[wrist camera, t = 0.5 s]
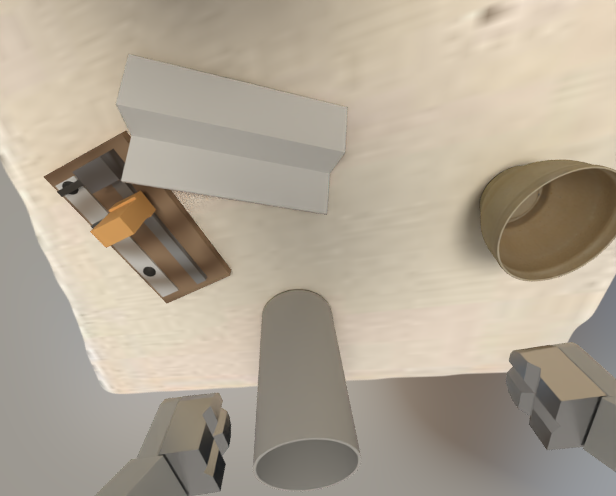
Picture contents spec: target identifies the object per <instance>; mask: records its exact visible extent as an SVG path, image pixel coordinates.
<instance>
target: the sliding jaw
mask: <svg viewBox="0 0 616 496" xmlns="http://www.w3.org/2000/svg"><path fill="white" fill-rule="evenodd" d="M155 210H156V209H155V208H154V206H153V205H152V204H151V203H150V202H149V200H148V199H147V198H146V197H145V195H144V194H143V193H142V192H141V191H139V192H137V193H135V194H133V195H131V196H129V197H127V198H125V199H123V200H121V201H119V202H117V203H116V204H114V205H113V206H112V207H111V208H110V209H109V212H110V213H109V214H108V215H107V216H106V217H105V218H104V219H102V220H100V221H98V222H96V223H94V224H93V225H92V226H91V227H92V228H93V229H92V230H91V231H90V232H91V233H92V234H93V235H94V236H95V237H96V238H97V239H98V240H99V241H100V242H101V243H102V244H103V245H104V246H105V247H106V248H107V247H109V246H111V245H113V244H115V243H117V242H119V241H121V240H123V239H125V238H127V237H129V236H131V235H133V234H135V233H136V231H137V230H138V229H139V227H140V226H141V225H142V223H143V222H144V221H145V220H146V219H147V218H149V217H151V216H152V214H153V213H154V212H155Z"/></svg>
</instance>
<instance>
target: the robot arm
mask: <svg viewBox="0 0 616 496" xmlns="http://www.w3.org/2000/svg"><path fill="white" fill-rule="evenodd" d="M509 362H510V363H511V364H512V366H513V367H512V368H511V369H510V370H509V371H508V372H507V377H506V384H507V388H508V392H509V394H510V396H511V398H512V400H513V402H514V403H515V405H516V406H517V408H518V409H519V410H521V411H523V412H524V413H526V414H527V415H529V416H530V421H529V425H530V427H531V428H532V429H533V431H534V432H535V434H536V435H537V436H538V438H539V439H540V441H541V442H542V444H543V445H544V447H545V448H546V449H547V450H555V449H565V448H575V447H583V449H584V450H585V451H587V452H589V453H590V454H591V455H592V456H594V457H595V458H597V459H598V460H599V461H601V462H602V463H604V464H605V465H606V466H608V467H609V468H611V469H612V470H613V471H615V472H616V379H615V378H614V377H613V376H612V375H611V374H610V373H609V372H608V371H606V370H605V369H604V368H603V367H602V366H601V365H600V364H598V362H597V361H595V360H594V359H593V358H592V357H591V356H590V355H589V354H588V353H587V352H585V351H584V350H583V349H582V348H581V347H580V346H579V345H577V344H575V343H573V342H569V343H562V344H555V345H546V346H540V347H533V348H527V349H520V350H514V351H513V352H512V353H511V354H510V358H509ZM222 402H223V400H222V398H221V396H220V394H219V393H211V394H201V395H192V396H183V397H177V398H168V399H165V400H164V401H163V402H162V403H161V404H160V406H159V408H158V411H157V413H156V415H155V418H154V420H153V422H152V424H151V427H150V429H149V431H148V434H147V436H146V438H145V440H144V443H143V445H142V447H141V450H140V452H139V454H138V456H137V459H131V460H130V461H129V462H128V463H127V464H126V465H125V466H124V467H123V468H122V469H121V470H120V471H119V472H118V473H117V474H116V475H115V476H114V477H113V478H112V479H111V480H110V481H109V482H108V483H107V484H106V485H105V486H104V487H103V488H102V489H101V490H100V491H99V492H98V493H97V494H96V495H95V496H194V495H200V494H207V493H213V492H219V491H221V485H222V480H223V475H224V470H225V465H226V464H225V461H224V459H223V457H222V455H223V454H224V453H225V452H226V450H227V449H228V448H229V444H230V438H231V422H230V417H229V414H228V412H227V411H226V410H224V409H223V408H221V407H222Z"/></svg>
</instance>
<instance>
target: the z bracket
mask: <svg viewBox="0 0 616 496" xmlns="http://www.w3.org/2000/svg"><path fill="white" fill-rule="evenodd" d="M116 105H117V107H118V109H119V111H120V113H121V115H122V117H123V119H124V121H125V123H126V125H127V127H128V129H129V131H130V133H131V135H132V136H131V140H130V144H129V149H128V153H127V157H126V162H125V166H124V170H123V175H122V179H121V181H122V182H126V183H132V184H138V185H144V186H151V187H157V188H163V189H169V190H176V191H182V192H188V193H194V194H201V195H207V196H213V197H219V198H226V199H232V200H238V201H244V202H251V203H257V204H263V205H269V206H276V207H282V208H288V209H294V210H301V211H307V212H313V213H319V214H326V215H327V211H328V195H329V179H330V173H331V171H332V170H333V168H334V167H335V166H336V164H337V163H338V162H339V160H340V159H341V157H342V156H343V155H344V153H345V148H346V128H347V108H348V107H344V106H340V105H336V104H332V103H328V102H324V101H320V100H316V99H312V98H307V97H303V96H299V95H295V94H291V93H287V92H283V91H279V90H275V89H271V88H266V87H262V86H258V85H254V84H250V83H246V82H242V81H238V80H234V79H230V78H225V77H221V76H217V75H213V74H209V73H205V72H201V71H197V70H193V69H189V68H184V67H180V66H176V65H172V64H168V63H164V62H160V61H156V60H152V59H148V58H143V57H139V56H135V55H131V54H128V58H127V62H126V66H125V70H124V74H123V78H122V82H121V86H120V90H119V94H118V98H117V102H116Z"/></svg>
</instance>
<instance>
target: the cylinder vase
mask: <svg viewBox="0 0 616 496" xmlns="http://www.w3.org/2000/svg"><path fill="white" fill-rule="evenodd" d="M255 427H256V428H255V444H254V459H253V473H254V475H255V477H256V478H257V480H259V481H260V482H261V483H263V484H264V485H266V486H269V487H272V488H274V489H279V490H285V491H311V490H318V489H322V488H326V487H330V486H333V485H336V484H338V483H340V482H342V481H344V480H346V479H348V478H349V477H350V476H352V475H353V474H354V473H355V472H356V471H357V470H358V468H359V466H360V464H361V455H360V450H359V445H358V440H357V435H356V430H355V425H354V421H353V416H352V411H351V406H350V401H349V396H348V391H347V386H346V381H345V376H344V371H343V366H342V361H341V356H340V352H339V347H338V342H337V337H336V332H335V327H334V322H333V317H332V312H331V308H330V306H329V304H328V303H327V302H326V300H325V299H324V298H322V297H321V296H320V295H318V294H316V293H314V292H311V291H306V290H291V291H286V292H283V293H281V294H279V295H277V296H275V297H274V298H272V299H271V300H270V301H269V302H268V303H267V305H266V306H265V308H264V310H263V313H262V324H261V341H260V358H259V375H258V392H257V409H256V426H255Z"/></svg>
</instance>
